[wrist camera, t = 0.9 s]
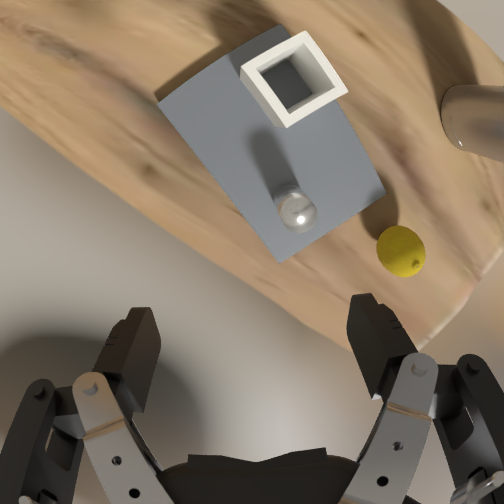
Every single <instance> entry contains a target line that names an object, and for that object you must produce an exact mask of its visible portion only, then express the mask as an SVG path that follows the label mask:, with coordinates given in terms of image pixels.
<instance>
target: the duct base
mask: <svg viewBox="0 0 504 504" xmlns="http://www.w3.org/2000/svg"><path fill="white" fill-rule="evenodd" d="M290 38H291V36H290V34H289V33H288V32H287V31H286V29H285V28H284V27H283V26H282V25H281V24H279V25H277V26H275V27H273V28H271V29H269V30H267V31H265V32H264V33H262V34H260V35H258V36H256V37H254V38H253V39H251V40H249V41H247V42H246V43H244V44H242V45H241V46H239V47H237V48H236V49H234V50H232V51H231V52H229V53H227V54H226V55H224V56H223V57H221V58H220V59H218V60H217V61H215V62H213V63H212V64H210V65H209V66H207V67H206V68H205V69H203V70H202V71H200V72H199V73H197V74H196V75H195V76H193V77H192V78H190V79H189V80H188V81H186V82H185V83H184V84H182V85H181V86H180V87H178V88H177V89H176V90H174V91H173V92H172V93H170V94H169V95H168V96H167V97H165V98H164V99H163V100H162V101H160V102H159V103H158V104H157V105H158V107H159V108H160V109H161V111H162V112H163V113H164V114H165V116H166V117H167V118H168V119H169V121H170V122H171V123H172V124H173V126H174V127H175V128H176V130H177V131H178V132H179V133H180V135H181V136H182V137H183V139H184V140H185V141H186V142H187V144H188V145H189V146H190V148H191V149H192V150H193V151H194V153H195V154H196V155H197V157H198V158H199V159H200V160H201V162H202V163H203V164H204V166H205V167H206V168H207V169H208V171H209V172H210V173H211V175H212V176H213V177H214V178H215V180H216V181H217V182H218V184H219V185H220V186H221V188H222V189H223V190H224V192H225V193H226V194H227V195H228V197H229V198H230V199H231V201H232V202H233V203H234V205H235V206H236V207H237V209H238V210H239V211H240V212H241V214H242V215H243V216H244V218H245V219H246V220H247V222H248V223H249V224H250V226H251V227H252V228H253V230H254V231H255V232H256V234H257V235H258V236H259V238H260V239H261V240H262V242H263V243H264V244H265V245H266V247H267V248H268V249H269V251H270V252H271V253H272V255H273V256H274V257H275V259H276V260H277V261H278V263H281V262H283V261H284V260H286V259H287V258H289V257H291V256H292V255H294V254H295V253H297V252H298V251H300V250H302V249H303V248H305V247H306V246H308V245H309V244H311V243H312V242H314V241H316V240H317V239H319V238H320V237H322V236H323V235H325V234H326V233H328V232H329V231H331V230H333V229H334V228H336V227H337V226H339V225H340V224H342V223H343V222H345V221H346V220H348V219H349V218H351V217H352V216H354V215H355V214H357V213H359V212H360V211H362V210H363V209H365V208H366V207H368V206H369V205H371V204H372V203H374V202H375V201H377V200H378V199H380V198H381V197H383V196H384V195H386V194H387V193H386V191H385V189H384V187H383V185H382V183H381V181H380V178H379V176H378V174H377V172H376V170H375V168H374V166H373V164H372V162H371V160H370V158H369V157H368V155H367V153H366V151H365V149H364V147H363V145H362V143H361V142H360V140H359V138H358V136H357V134H356V133H355V131H354V129H353V127H352V126H351V124H350V122H349V120H348V119H347V117H346V115H345V114H344V112H343V110H342V109H341V107H340V106H339V104H338V102H337V101H336V99H334V100H332V101H331V102H329V103H327V104H326V105H324V106H322V107H320V108H319V109H317V110H315V111H314V112H312V113H310V114H309V115H307V116H305V117H304V118H302V119H301V120H299V121H297V122H296V123H294V124H293V125H291V126H289V127H288V128H282V127H275V126H274V125H273V123H272V122H271V120H270V119H269V118H268V116H267V115H266V113H265V112H264V111H263V109H262V108H261V106H260V105H259V104H258V102H257V101H256V100H255V98H254V97H253V96H252V94H251V93H250V92H249V90H248V89H247V88H246V86H245V85H244V84H243V83H242V81H241V80H240V70H241V66H242V65H244V64H245V63H247V62H248V61H250V60H252V59H253V58H255V57H257V56H259V55H260V54H262V53H264V52H265V51H267V50H269V49H271V48H273V47H274V46H276V45H278V44H280V43H282V42H284V41H286V40H288V39H290ZM261 76H262V77H263V78H264V80H265V81H266V82H267V84H268V85H269V87H270V88H271V89H272V91H273V92H274V93H275V95H276V96H277V97H278V99H279V100H280V102H281V103H282V104H283V106H284V107H285V109H286V110H287V109H288V108H290V107H292V106H293V105H295V104H297V103H298V102H300V101H302V100H303V99H305V98H307V97H308V96H310V95H312V94H313V93H312V92H311V91H310V89H309V88H308V86H307V85H306V83H305V82H304V80H303V79H302V78H301V76H300V75H299V73H298V72H297V71H296V69H295V68H294V67H293V65H292V64H291V62H290V61H289V60H288V59H287V60H286V61H284V62H282V63H280V64H279V65H277V66H275V67H273V68H272V69H270V70H268V71H267V72H265V73H263V74H262V75H261ZM284 183H293V184H295V185H297V186H298V187H299V188H300V189H301V190H302V191H303V192H304V193H305V194H306V196H307V197H308V198H309V199H310V200H311V201H312V202H313V204H314V205H315V206H316V208H317V212H318V217H317V221H316V223H315V225H314V226H313V227H312V228H311V229H310V230H308V231H307V232H304V233H293V232H291V231H289V230H287V229H286V228H285V226H284V225H283V223H282V220H281V218H280V216H279V213H278V211H277V209H276V207H275V204H274V202H273V194H274V192H275V190H276V189H277V187H279V186H280V185H282V184H284Z"/></svg>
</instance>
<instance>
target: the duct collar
mask: <svg viewBox="0 0 504 504" xmlns="http://www.w3.org/2000/svg"><path fill="white" fill-rule="evenodd" d="M287 59H288V60H289V61H290V62H291V64H292V65H293V67H294V68H295V69H296V71H297V72H298V73H299V75H300V76H301V78H302V79H303V80H304V82H305V83H306V85H307V86H308V88H309V89H310V91H311V92H312V93H313V94H312V95H310V96H308V97H307V98H305V99H303V100H302V101H300V102H298V103H297V104H295V105H293V106H292V107H290V108H288V109H287V110H286V109H285V107H284V106H283V104H282V103H281V102H280V100H279V99H278V97H277V96H276V95H275V93H274V92H273V91H272V89H271V88H270V87H269V85H268V84H267V82H266V81H265V80H264V78H263V77H262V76H261V75H262V74H263V73H265V72H267V71H268V70H270V69H272V68H273V67H275V66H277V65H279V64H280V63H282V62H284V61H286V60H287ZM240 80H241V81H242V83H243V84H244V85H245V86H246V88H247V89H248V90H249V92H250V93H251V94H252V96H253V97H254V98H255V100H256V101H257V102H258V104H259V105H260V106H261V108H262V109H263V111H264V112H265V113H266V115H267V116H268V118H269V119H270V120H271V122H272V123H273V125H274V126H275V127H282V128H288V127H289V126H291V125H293V124H294V123H296V122H297V121H299V120H301V119H302V118H304V117H305V116H307V115H309V114H310V113H312V112H314V111H315V110H317V109H319V108H320V107H322V106H324V105H326V104H327V103H329V102H331V101H332V100H334V99H336V98H338V97H339V96H341V95H343V94H345V93H347V92H348V90H347V88H346V87H345V85H344V84H343V82H342V81H341V79H340V77H339V76H338V74H337V73H336V71H335V70H334V68H333V67H332V66H331V64H330V63H329V61H328V60H327V58H326V57H325V55H324V54H323V53H322V51H321V50H320V49H319V47H318V46H317V44H316V43H315V42H314V40H313V39H312V38H311V37H310V35H309V34H308V33H307V31H304V32H301V33H299V34H297V35H295V36H293V37H291V38H290V39H288V40H286V41H284V42H282V43H280V44H278V45H276V46H274V47H273V48H271V49H269V50H267V51H265V52H264V53H262V54H260V55H259V56H257V57H255V58H253V59H252V60H250V61H248V62H247V63H245V64H244V65H242V66H241V70H240Z"/></svg>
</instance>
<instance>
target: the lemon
mask: <svg viewBox="0 0 504 504" xmlns="http://www.w3.org/2000/svg"><path fill="white" fill-rule="evenodd" d="M377 254H378V258H379V260H380V262H381V263H382V265H383V266H384V267H385V268H386V269H387V270H388V271H390V272H391V273H392V274H394V275H397V276H400V277H409V276H412V275H414V274H416V273H417V272H418V271H419V270H420V269H421V268H422V266H423V264H424V262H425V257H426V254H425V248H424V245H423V242H422V241H421V239H420V238H419V237H418V235H417V234H416V233H415V232H413V231H412V230H411V229H409V228H407V227H404V226H392V227H389V228H387V229H386V230H385V231H383V232H382V234H381V235H380V237H379V239H378V242H377Z"/></svg>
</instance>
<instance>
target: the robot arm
mask: <svg viewBox="0 0 504 504" xmlns="http://www.w3.org/2000/svg"><path fill="white" fill-rule="evenodd" d="M441 118H442V124H443V127H444V130H445V133H446V135H447V137H448V138H449V140H450V141H451V143H452V144H453V145H454V146H455V147H457V148H459V149H461V150H464V151H468V152H471V153H474V154H478V155H480V156H484V157H487V158H490V159H493V160H496V161H499V162H502V163H504V86H490V85H455V86H453V87H451V88H450V89H449V90H448V91H447V92H446V94H445V95H444V98H443V101H442V107H441ZM347 336H348V340H349V342H350V345H351V347H352V350H353V352H354V355H355V357H356V360H357V362H358V365H359V367H360V370H361V372H362V375H363V378H364V380H365V383H366V385H367V388H368V391H369V394H370V396H371V399H372V400H374V399H379V398H382V400H383V402H384V404H383V406H382V408H381V410H380V413H379V415H378V417H377V419H376V422H375V424H374V426H373V428H372V430H371V433H370V435H369V437H368V439H367V441H366V443H365V445H364V447H363V449H362V450H361V452H360V454H359V456H358V458H357V459H356V461H352V460H350V459H347V458H344V457H340V456H334V455H327V452H326V448H317V449H311V450H304V451H295V452H290V453H288V454H284V455H281V456H278V457H274V458H271V459H268V460H264V461H260V462H251V461H246V460H240V459H235V458H230V457H225V456H220V455H219V456H218V455H190V454H189V455H188V462H186V463H182V464H178V465H175V466H172V467H170V468H168V469H166V470H163V468H162V467H161V465H160V464H159V463H158V461H157V460H156V459H155V457H154V456H153V454H152V453H151V451H150V449H149V448H148V446H147V444H146V443H145V441H144V439H143V438H142V436H141V434H140V433H139V431H138V429H137V427H136V426H135V424H134V422H133V420H132V416H133V412H141V413H144V409H145V405H146V401H147V397H148V393H149V389H150V386H151V381H152V378H153V374H154V371H155V367H156V364H157V360H158V357H159V353H160V349H161V338H160V334H159V331H158V328H157V325H156V322H155V319H154V315H153V312H152V310H151V308H150V307H133V308H131V310H130V311H129V313H128V316H127V318H126V320H120V321H119V322H118V323H117V324H116V325H115V326H114V327H113V328H112V330H111V332H110V334H109V336H108V337H109V338H107V340H106V342H105V346H104V347H103V349H102V351H101V353H100V355H99V357H98V359H97V361H96V364H95V366H94V368H93V370H92V372H89V373H85V374H83V375H81V376H80V377H79V378H78V379H77V380H76V381H75V383H74V385H73V386H68V387H61V388H56V387H55V386H54V385H53V383H52V382H51V381H50V380H47V379H39V380H36V381H34V382H33V383H32V384H31V385H30V386H29V387H28V388H27V390H26V392H25V395H24V397H23V399H22V401H21V403H20V406H19V408H18V410H17V412H16V415H15V417H14V420H13V422H12V425H11V427H10V429H9V432H8V435H7V437H6V440H5V443H4V445H3V448H2V451H1V454H0V504H72V501H73V495H74V490H75V485H76V480H77V475H78V470H79V466H80V462H81V457H82V452H83V449H84V445H85V447H86V450H87V452H88V455H89V458H90V460H91V462H92V464H93V467H94V469H95V472H96V473H97V476H98V478H99V480H100V482H101V485H102V487H103V489H104V491H105V493H106V495H107V496H108V498H109V500H110V502H111V504H421V503H419V502H417V501H416V500H414V499H412V498H411V497H409V496H407V495H406V493H407V491H408V489H409V486H410V484H411V481H412V479H413V476H414V474H415V471H416V468H417V466H418V463H419V460H420V457H421V454H422V451H423V448H424V445H425V442H426V439H427V435H428V432H429V429H430V425H431V419H432V420H433V422H434V425H435V428H436V431H437V433H438V436H439V439H440V441H441V444H442V447H443V450H444V453H445V456H446V459H447V462H448V465H449V468H450V472H451V475H452V478H453V481H454V485H455V488H456V489H455V491H454V492H453V494H452V496H451V499H450V504H504V393H503V391H502V389H501V387H500V386H499V384H498V382H497V380H496V379H495V377H494V375H493V374H492V372H491V370H490V369H489V367H488V365H487V364H486V362H485V361H484V360H483V359H482V358H480V357H479V356H477V355H474V354H466V355H463V356H462V357H460V359H459V360H458V362H457V364H456V365H438V364H437V363H436V362H435V360H434V359H433V358H432V357H430V356H428V355H426V354H424V353H419V352H418V351H417V349H416V347H415V346H414V344H413V342H412V341H411V339H410V337H409V336H408V334H407V333H406V331H405V329H404V328H402V325H401V323H400V321H398V318H397V317H396V315H395V314H394V312H393V311H392V310H391V309H390V308H388V307H387V306H386V305H384V304H378V303H377V301H376V300H375V298H374V296H373V295H372V294H371V293H365V294H357V295H353V296H352V298H351V302H350V309H349V315H348V320H347ZM466 408H467V410H468V412H469V414H470V416H471V418H472V421H473V423H472V421H471V419H470V417H469V415H468V412H467V410H466ZM473 424H474V426H473ZM51 429H52V430H53V432H52V435H51V439H50V442H49V445H48V448H47V451H45V445H46V442H47V438H48V436H49V433H50V430H51Z"/></svg>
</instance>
